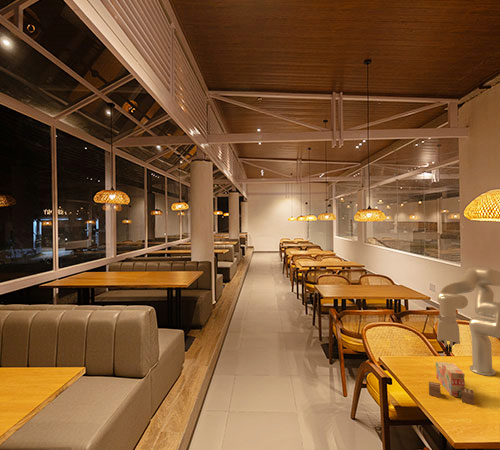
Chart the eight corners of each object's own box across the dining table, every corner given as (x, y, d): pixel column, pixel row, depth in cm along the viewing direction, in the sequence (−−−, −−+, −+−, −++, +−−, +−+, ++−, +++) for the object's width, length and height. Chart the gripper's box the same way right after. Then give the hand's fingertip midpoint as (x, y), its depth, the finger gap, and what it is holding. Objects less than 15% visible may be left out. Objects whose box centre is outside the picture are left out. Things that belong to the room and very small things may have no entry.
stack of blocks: (436, 378, 182) (435, 356, 182) (448, 378, 181) (447, 357, 181) (451, 396, 161) (450, 372, 161) (465, 397, 160) (464, 373, 160)
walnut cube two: (461, 397, 160) (461, 387, 160) (473, 400, 157) (473, 389, 158) (461, 402, 156) (461, 391, 156) (474, 404, 153) (474, 394, 153)
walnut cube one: (429, 390, 167) (429, 381, 167) (440, 393, 165) (440, 383, 165) (429, 395, 163) (428, 384, 163) (440, 397, 160) (440, 387, 161)
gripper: (431, 318, 172) (432, 352, 171) (464, 322, 164) (465, 358, 164) (432, 315, 179) (432, 348, 178) (464, 319, 171) (464, 353, 170)
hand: (448, 353), depth 171 cm, fingers closed
